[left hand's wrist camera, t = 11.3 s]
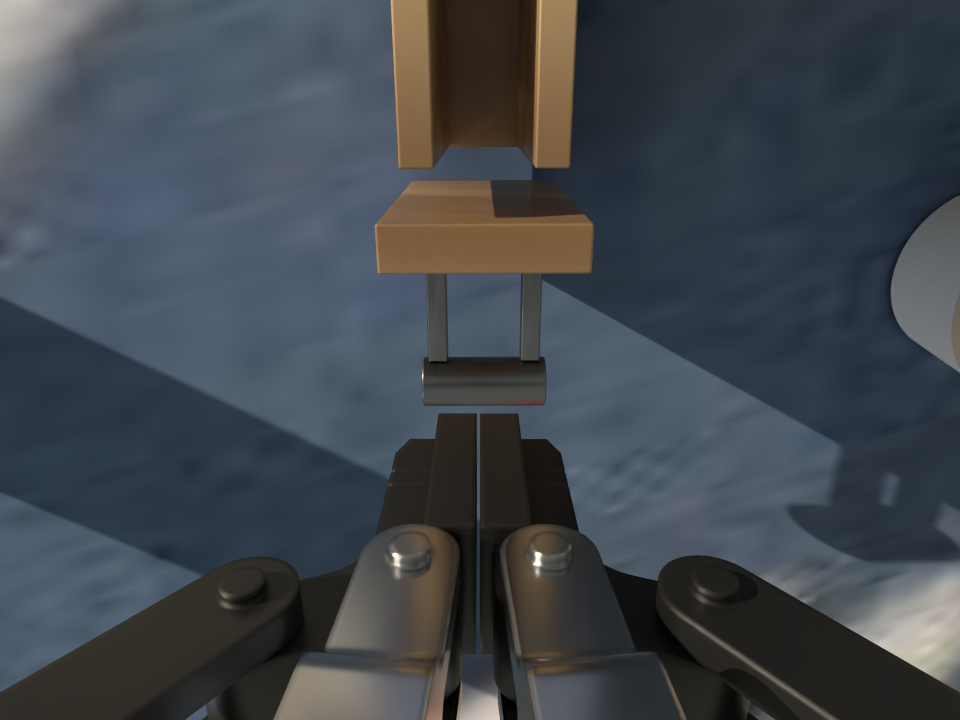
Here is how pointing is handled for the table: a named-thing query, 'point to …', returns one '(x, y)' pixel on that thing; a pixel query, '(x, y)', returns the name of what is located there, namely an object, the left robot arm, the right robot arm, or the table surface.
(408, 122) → the drawer
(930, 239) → the coffee cup
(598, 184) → the table surface
